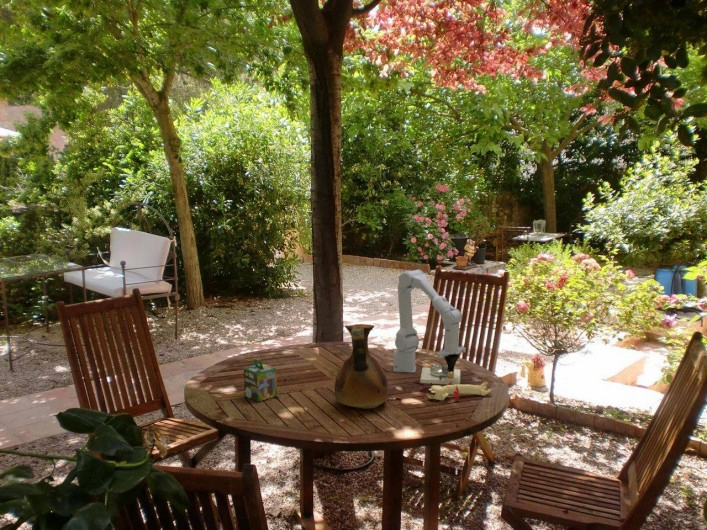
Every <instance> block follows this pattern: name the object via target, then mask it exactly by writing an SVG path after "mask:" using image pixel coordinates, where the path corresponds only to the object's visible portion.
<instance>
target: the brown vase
mask: <svg viewBox="0 0 707 530" xmlns="http://www.w3.org/2000/svg"><path fill="white" fill-rule="evenodd" d="M344 327H345V328H346V330H347V331H348V333H349V334H350V336H351V337H350V338H351V345H352V346H351V347H352V350H351V351H352V352H351V355H350V357H348V358H347V359H346V360H345V361H344V362H343V363H342V365H341V366H340V367H339V369H338V371H337V373H336V378H335V381H334V396H335V400H336V401H337V402H338V403H341V404H342V405H344V406H348V407H353V408H361V409H374V408H377V407H379V406H380V405H382V404H383V403H384V402H385V401H386V399H387V397H388V392H389V385H388V380H387V375H386V373H385V370H384V368H383V367H382V365H381V364H380V362H379V361H378V360H377V359H376V358H375V357H373V356H372V355H371V353H370V351H369V346H368V345H369V344H368V343H369V335H370V333H371V331H372V330H373V329H374V328H375V325H374V324H366V323H365V324H364V323H357V324H350V325H345V326H344Z"/></svg>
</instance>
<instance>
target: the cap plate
mask: <svg viewBox="0 0 707 530" xmlns="http://www.w3.org/2000/svg"><path fill="white" fill-rule="evenodd" d="M430 368H431V367H425V366H423V367H422V370H421V375H420V381H419V382H420V384H431V383H432V384H433V385H434V384H435V385H448V384H449V383H450V382H452V383H451V384H450V385H461V369H457V368H454V378H453V379H450V378H448V377H436V376H433V375H431V374H430Z"/></svg>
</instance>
